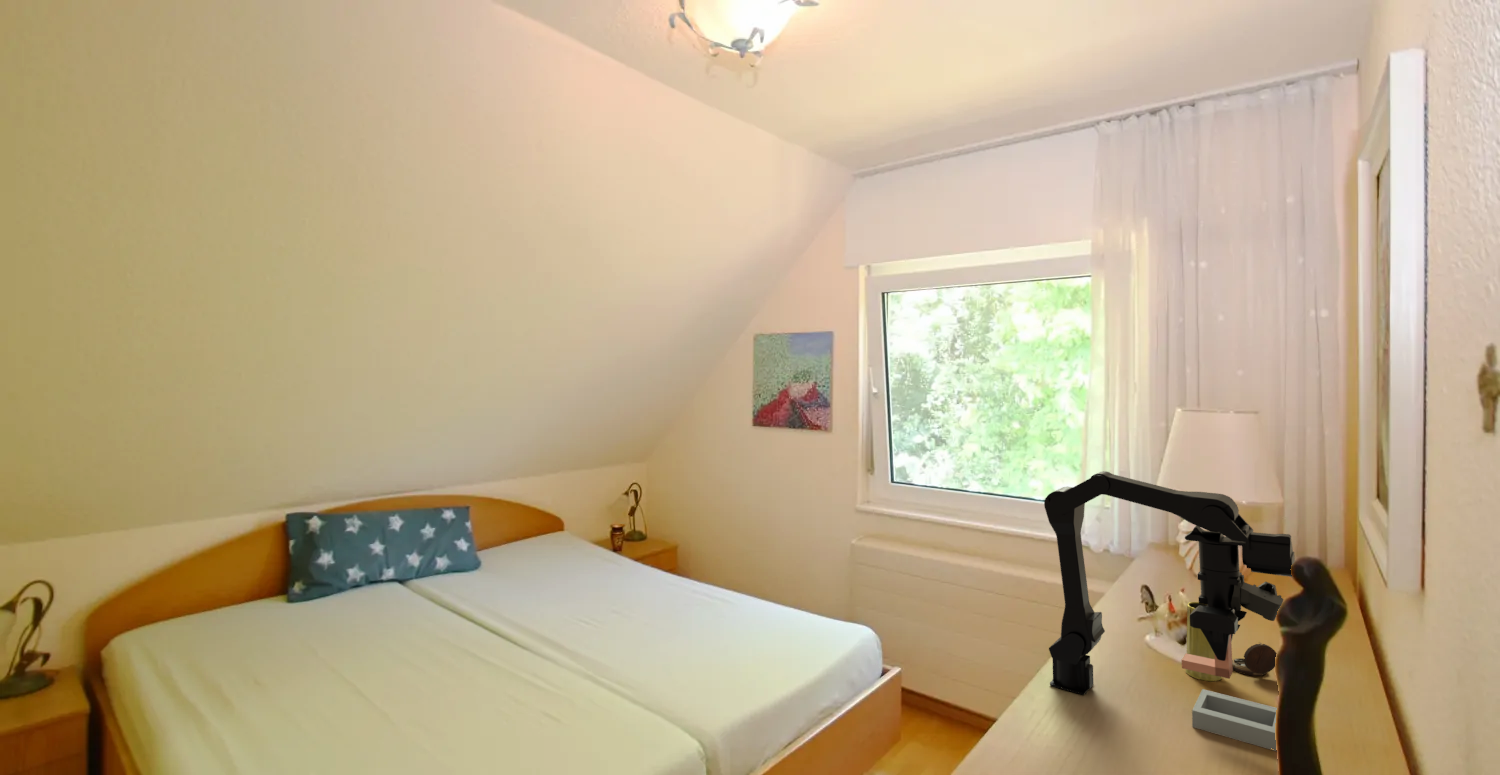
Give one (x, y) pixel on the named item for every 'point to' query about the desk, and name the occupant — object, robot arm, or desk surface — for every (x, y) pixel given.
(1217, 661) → the bracket
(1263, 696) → the desk surface
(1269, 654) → the compass
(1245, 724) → the well block
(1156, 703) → the desk surface
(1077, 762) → the desk surface
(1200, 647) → the vase
